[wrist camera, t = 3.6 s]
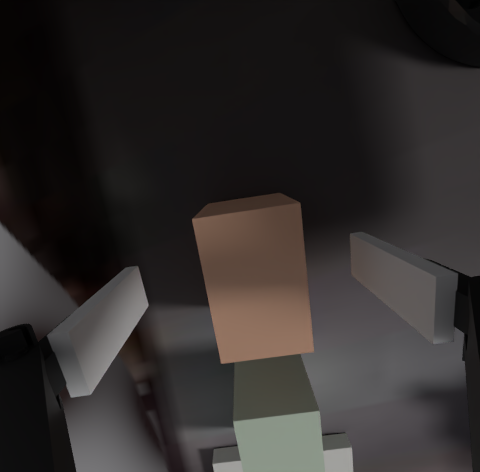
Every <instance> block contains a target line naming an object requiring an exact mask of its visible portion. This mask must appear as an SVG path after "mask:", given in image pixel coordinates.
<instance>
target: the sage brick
mask: <svg viewBox="0 0 480 472" xmlns="http://www.w3.org/2000/svg"><path fill="white" fill-rule="evenodd" d="M233 424H234V429H235V434H236V439H237V444H238V449H239V454H240V459H241V464H242V469H243V472H325V466H324V455H323V444H322V433H321V422H320V411H319V408H318V405H317V402H316V399H315V396H314V393H313V390H312V387H311V384H310V381H309V378H308V375H307V372H306V370H305V367H304V364H303V361H302V358H301V355H300V354H294V355H286V356H278V357H271V358H263V359H255V360H248V361H240V362H234V402H233Z"/></svg>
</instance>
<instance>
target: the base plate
mask: <svg viewBox="0 0 480 472" xmlns="http://www.w3.org/2000/svg"><path fill="white" fill-rule="evenodd" d="M322 444H323V455H324V466H325V472H353V459H352V446H351V444H350V442H349V439H348V437H347V434H346V433H341V434H333V435H325V436H322ZM212 464H213V469H214V472H243V469H242V464H241V459H240V454H239V449H238V446H234V447H226V448H217V449H214V452H213V463H212Z"/></svg>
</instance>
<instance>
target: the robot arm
mask: <svg viewBox="0 0 480 472" xmlns="http://www.w3.org/2000/svg"><path fill="white" fill-rule="evenodd" d="M396 2H397V4H398V6H399V8H400V10H401V12H402V14H403V16H404V17H405V19H406V20H407V22H408V23H409V25H410V26H411V28H412V29H413V30H414V31H415V32H416V34H417V35H418V36H419V37H420V38H421V39H422V40H423V41H424V42H425V43H426V44H428V45H429V46H430V47H431V48H433V49H434V50H436V51H437V52H439V53H440V54H442V55H444V56H446V57H447V58H450V59H452V60H454V61H457V62H460V63H463V64H467V65H472V66H479V67H480V0H396ZM350 252H351V274H352V276H353V277H354V278H355V279H357V280H358V281H359V282H360V283H361V284H363V285H364V286H365V287H366V288H367V289H368V290H370V291H371V292H372V293H373V294H374V295H376V296H377V297H378V298H379V299H380V300H381V301H383V302H384V303H385V304H386V305H387V306H388V307H390V308H391V309H392V310H393V311H394V312H396V313H397V314H398V315H399V316H400V317H401V318H403V319H404V320H405V321H406V322H407V323H409V324H410V325H411V326H412V327H413V328H414V329H416V330H417V331H418V332H419V333H420V334H421V335H423V336H424V337H425V338H426V339H427V340H429V341H430V342H431V343H432V344H440V343H447V342H454V328H455V327H456V328H457V329H459V330H460V331H462V332H463V333H464V344H463V357H462V360H463V361H465V369H466V383H467V397H468V411H469V425H470V439H471V453H472V467H473V472H480V276H474V277H469V276H467V275H465V274H462V273H460V272H458V271H455V270H453V269H449V268H448V267H446V266H444V265H441V264H439V263H437V262H434V261H432V260H428V259H424V258H421V257H419V256H417V255H414V254H412V253H410V252H407V251H405V250H403V249H401V248H398V247H396V246H394V245H392V244H389V243H387V242H385V241H382V240H380V239H378V238H376V237H373V236H371V235H369V234H366V233H364V232H356V233H350ZM148 306H149V305H148V301H147V298H146V294H145V290H144V286H143V283H142V279H141V275H140V271H139V268H138V266H133V267H127V268H125V269H124V270H122V271H121V272H120V273H119V274H118V275H117V276H115V277H114V278H113V279H112V280H111V281H110V282H108V283H107V284H106V285H105V286H104V287H103V288H101V289H100V290H99V291H98V292H97V293H96V294H94V295H93V296H92V297H91V298H90V299H89V300H87V301H86V302H85V303H84V304H83V305H82V306H80V307H79V308H78V309H77V310H76V311H75V312H74V313H72V314H71V315H69V316H68V317H67V318H66V319H65V320H63V321H62V322H61V324H59V325H57V326H56V327H55V329H53V330H52V331H50V332H49V333H48V334H47V335H46V336H45V337H44V338H42V339H41V340H40V341H39V342H38V341H37V339H36V336H35V333H34V331H33V328H32V326H31V325H30V324H21V325H17V326H14V327H11V328H8V329H5V330H3V331H1V332H0V472H76V468H75V463H74V458H73V453H72V448H71V443H70V438H69V433H68V429H67V423H66V419H65V413H64V408H63V404H62V400H61V398H60V395H59V393H60V392H61V390H62V389H63V388H64V387H65V385H66V386H67V388H68V391H69V393H70V396H71V397H78V396H85V395H91V393H92V392H93V390H94V389H95V387H96V386H97V384H98V383H99V381H100V380H101V378H102V376H103V375H104V373H105V372H106V370H107V369H108V367H109V366H110V364H111V363H112V361H113V360H114V358H115V357H116V355H117V354H118V352H119V350H120V349H121V347H122V346H123V344H124V343H125V341H126V340H127V338H128V337H129V335H130V334H131V332H132V330H133V329H134V327H135V326H136V324H137V323H138V321H139V320H140V318H141V317H142V315H143V314H144V312H145V311H146V309H147V307H148Z"/></svg>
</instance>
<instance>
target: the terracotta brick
mask: <svg viewBox="0 0 480 472" xmlns="http://www.w3.org/2000/svg"><path fill="white" fill-rule="evenodd" d="M192 222H193V227H194V232H195V237H196V242H197V246H198V251H199V256H200V261H201V266H202V271H203V276H204V281H205V286H206V291H207V296H208V301H209V306H210V311H211V316H212V321H213V326H214V331H215V335H216V340H217V345H218V350H219V355H220V360H221V364H224V363H232V362H240V361H248V360H255V359H263V358H271V357H278V356H286V355H294V354H301V353H309V352H314V346H313V335H312V324H311V313H310V302H309V291H308V280H307V269H306V258H305V247H304V236H303V225H302V214H301V203H300V202H298V201H296V200H294V199H292V198H290V197H288V196H286V195H283V194H281V193H274V194H268V195H261V196H255V197H248V198H242V199H235V200H229V201H222V202H216V203H209V204H207V205H206V206H205V207H204V208H203V209H202V210H201V211H200V212H199V213H198V214H197V215H196V216H195V217H194V218H193V219H192Z"/></svg>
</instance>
